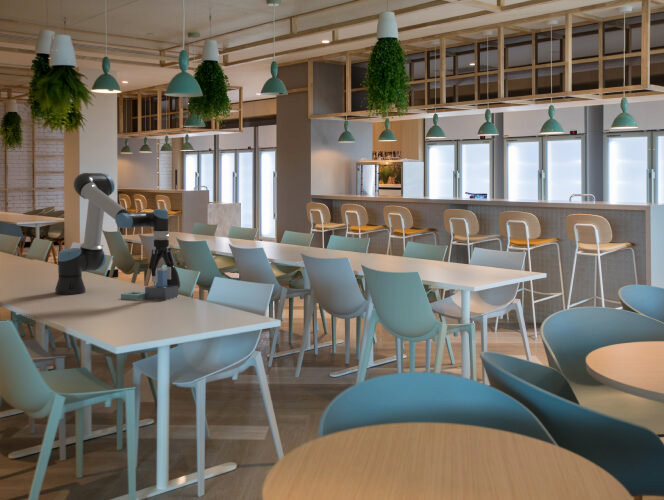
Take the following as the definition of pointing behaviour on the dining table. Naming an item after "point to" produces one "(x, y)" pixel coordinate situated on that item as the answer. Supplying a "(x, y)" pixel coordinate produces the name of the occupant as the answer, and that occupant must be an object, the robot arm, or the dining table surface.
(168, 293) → the port
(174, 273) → the black egg shape
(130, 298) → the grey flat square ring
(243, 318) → the dining table surface
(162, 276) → the plug
